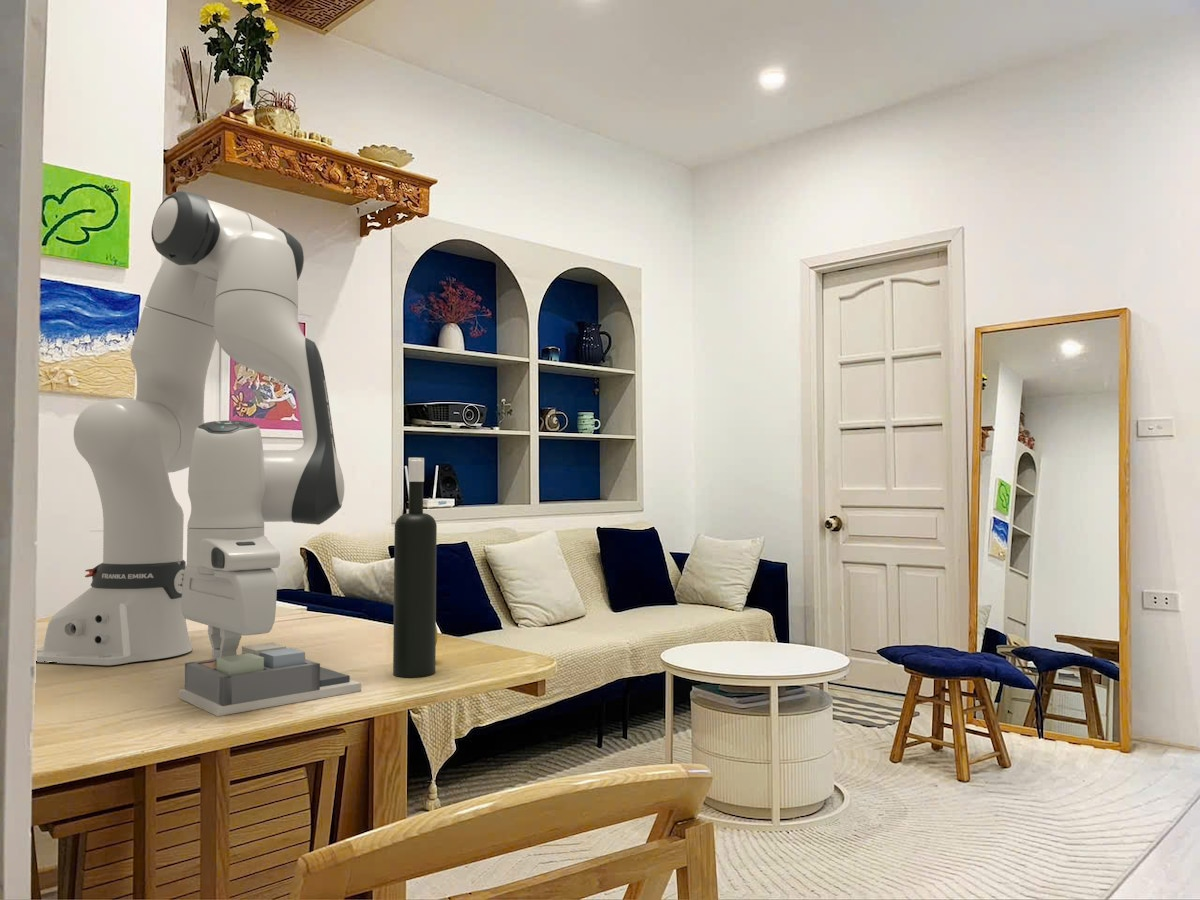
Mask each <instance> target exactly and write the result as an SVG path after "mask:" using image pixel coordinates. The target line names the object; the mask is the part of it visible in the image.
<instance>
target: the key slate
mask: <svg viewBox="0 0 1200 900" xmlns="http://www.w3.org/2000/svg"><path fill="white" fill-rule="evenodd" d="M259 656H261V657H264V666H265V667H268V668H271V669H275V668H281V667H288V666H295V665H302V664H305V659H306V651H303V650H299V649H296V648H292V647H286V648H285V649H278V650H270V651H263V652H259Z"/></svg>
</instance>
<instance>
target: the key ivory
mask: <svg viewBox="0 0 1200 900" xmlns="http://www.w3.org/2000/svg"><path fill="white" fill-rule="evenodd" d="M285 648H287V646H286V645H283V644H279V643H275V642H268V643H258V644H250V645H241V654H246V653H251V654H254V655H257V656H259V652H263V651H270V650H278V649H285Z"/></svg>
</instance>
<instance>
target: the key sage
mask: <svg viewBox="0 0 1200 900" xmlns="http://www.w3.org/2000/svg"><path fill="white" fill-rule="evenodd" d="M261 670H264V657H261V656H257V655H254V654H251V653H246V654H242V653H241V654H239V653H238V654H236V655H231V656H224V657H217V666H216V671H219V672H221V673H224V674H227V675H233V674H240V673H247V672H254V671H261Z"/></svg>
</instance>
